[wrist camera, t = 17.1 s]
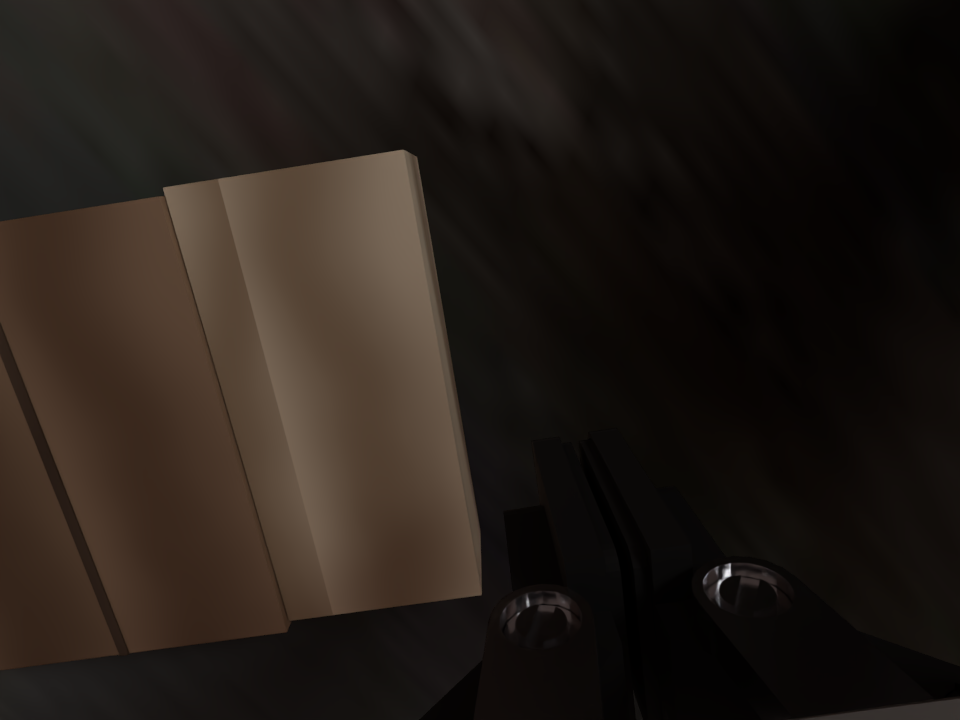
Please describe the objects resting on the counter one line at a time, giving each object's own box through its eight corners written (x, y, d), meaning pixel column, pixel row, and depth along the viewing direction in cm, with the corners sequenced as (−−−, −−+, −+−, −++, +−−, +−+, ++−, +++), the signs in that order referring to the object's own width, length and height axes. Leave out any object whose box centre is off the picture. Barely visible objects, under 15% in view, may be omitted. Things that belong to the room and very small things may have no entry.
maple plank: (417, 157, 19) (403, 149, 15) (480, 527, 23) (481, 595, 19) (224, 187, 19) (162, 187, 15) (319, 549, 23) (288, 621, 19)
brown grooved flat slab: (257, 189, 19) (202, 189, 15) (347, 554, 23) (321, 629, 19) (-99, 245, 20) (-242, 259, 16) (49, 595, 23) (-36, 676, 20)
